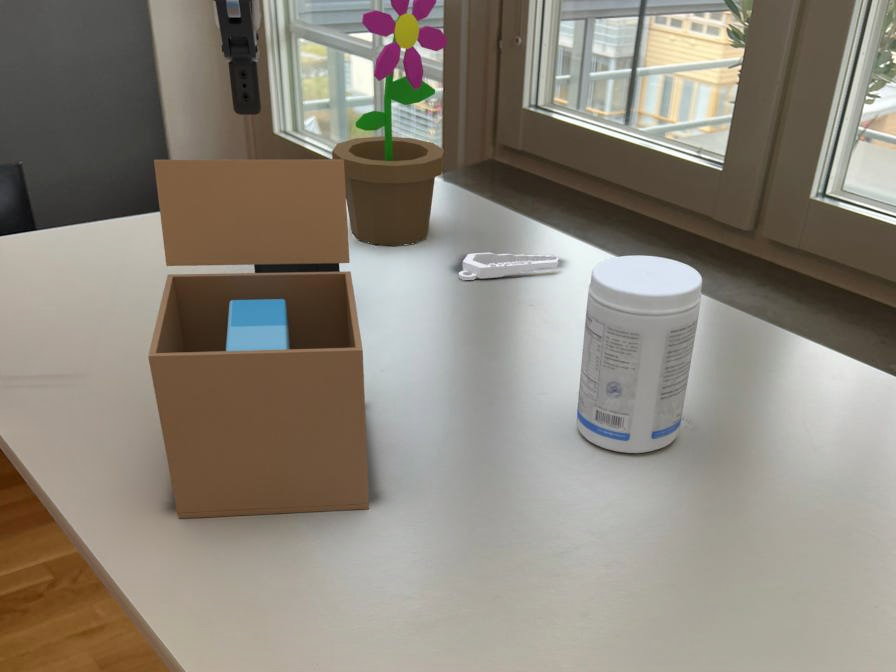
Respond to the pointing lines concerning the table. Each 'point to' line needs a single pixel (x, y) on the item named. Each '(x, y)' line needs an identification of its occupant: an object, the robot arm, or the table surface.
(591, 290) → the supplement tub
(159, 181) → the flap
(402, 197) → the flowerpot
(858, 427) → the table surface
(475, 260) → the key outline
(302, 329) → the carton
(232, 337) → the data package
